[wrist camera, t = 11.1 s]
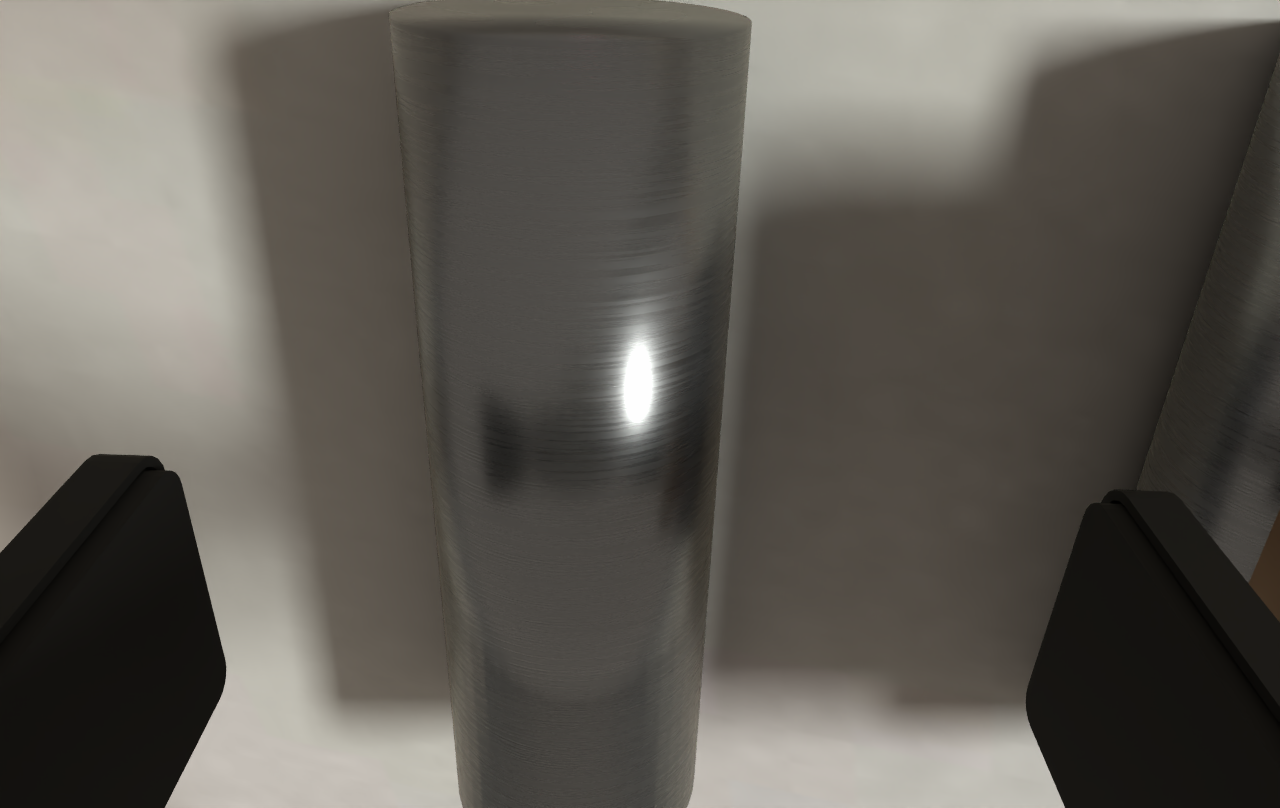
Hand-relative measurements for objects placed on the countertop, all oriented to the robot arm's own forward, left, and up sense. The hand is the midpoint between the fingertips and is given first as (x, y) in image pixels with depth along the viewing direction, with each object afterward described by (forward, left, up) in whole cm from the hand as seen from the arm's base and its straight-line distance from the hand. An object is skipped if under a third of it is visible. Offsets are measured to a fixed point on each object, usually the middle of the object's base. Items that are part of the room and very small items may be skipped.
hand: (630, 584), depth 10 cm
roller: (+1, -1, -4) cm, 4 cm away
